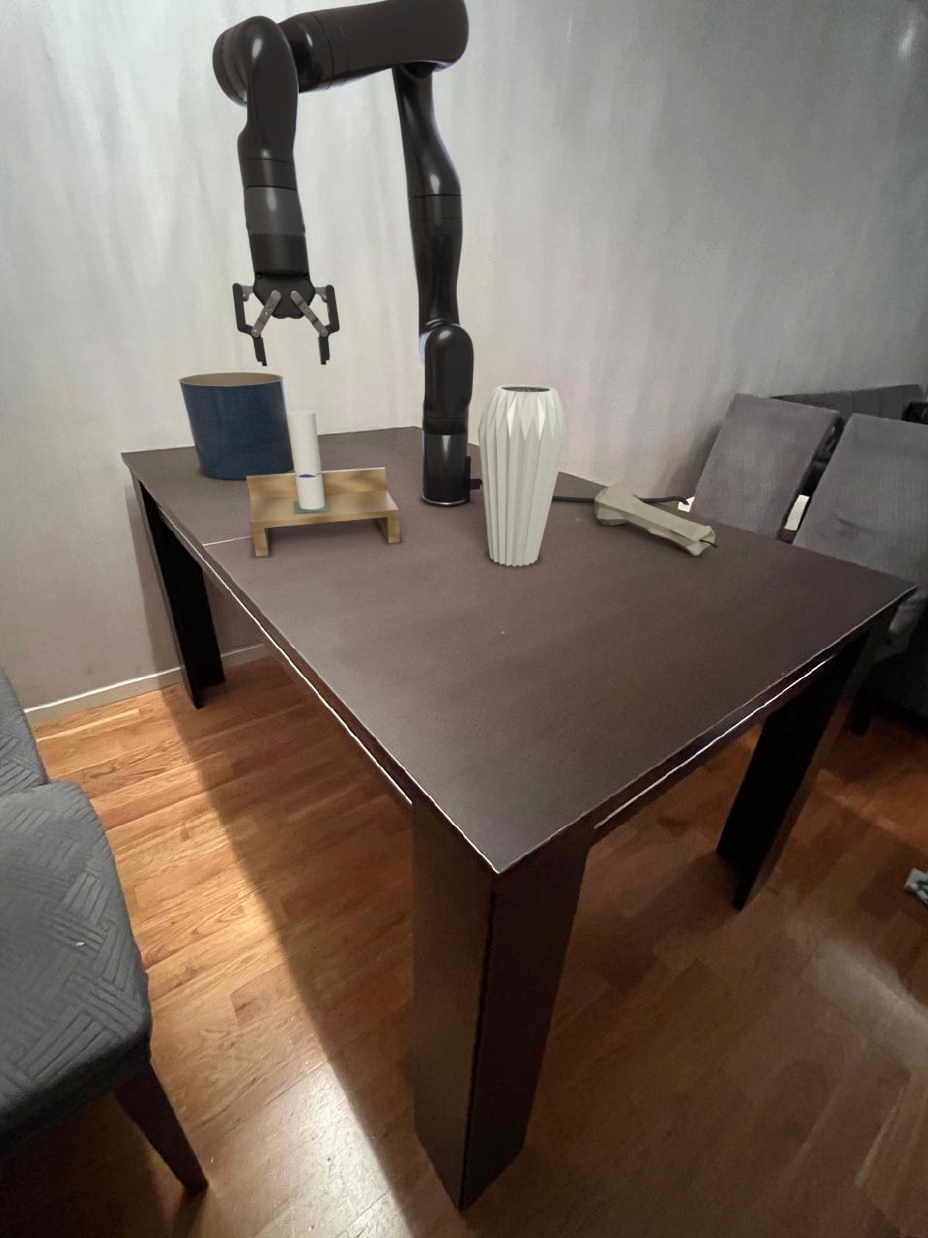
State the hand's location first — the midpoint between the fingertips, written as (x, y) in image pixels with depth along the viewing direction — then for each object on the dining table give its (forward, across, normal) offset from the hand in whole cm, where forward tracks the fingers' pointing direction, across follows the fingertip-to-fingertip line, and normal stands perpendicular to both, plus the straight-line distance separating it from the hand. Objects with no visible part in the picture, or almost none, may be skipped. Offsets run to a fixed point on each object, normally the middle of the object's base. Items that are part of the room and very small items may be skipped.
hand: (294, 364), depth 82 cm
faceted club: (+29, -58, +15) cm, 66 cm away
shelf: (+28, -2, -1) cm, 28 cm away
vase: (+28, -31, +16) cm, 45 cm away
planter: (+28, +12, -50) cm, 59 cm away
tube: (+22, 0, 0) cm, 22 cm away
